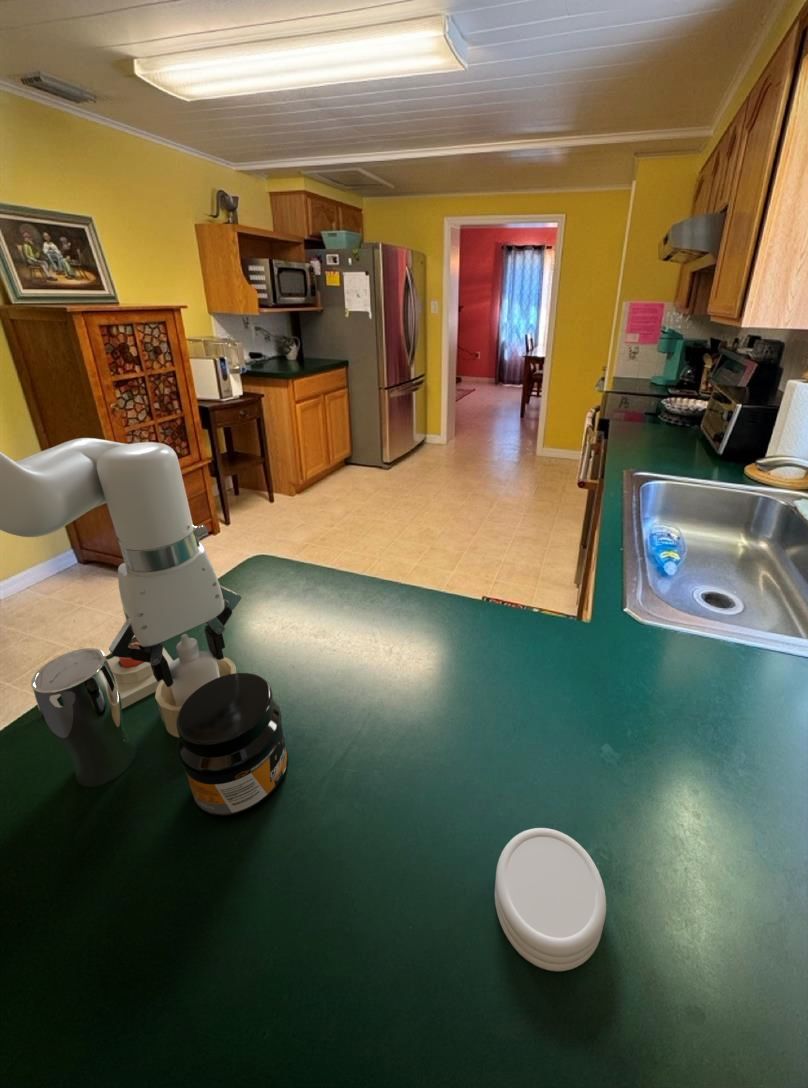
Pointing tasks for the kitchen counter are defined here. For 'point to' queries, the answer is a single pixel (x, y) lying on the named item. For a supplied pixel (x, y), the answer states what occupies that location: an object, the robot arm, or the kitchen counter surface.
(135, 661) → the button
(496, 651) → the kitchen counter surface
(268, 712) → the supplement container
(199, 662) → the eye dropper bottle
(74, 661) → the silver rounded piece
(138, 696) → the button base
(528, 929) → the coaster
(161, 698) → the holder
